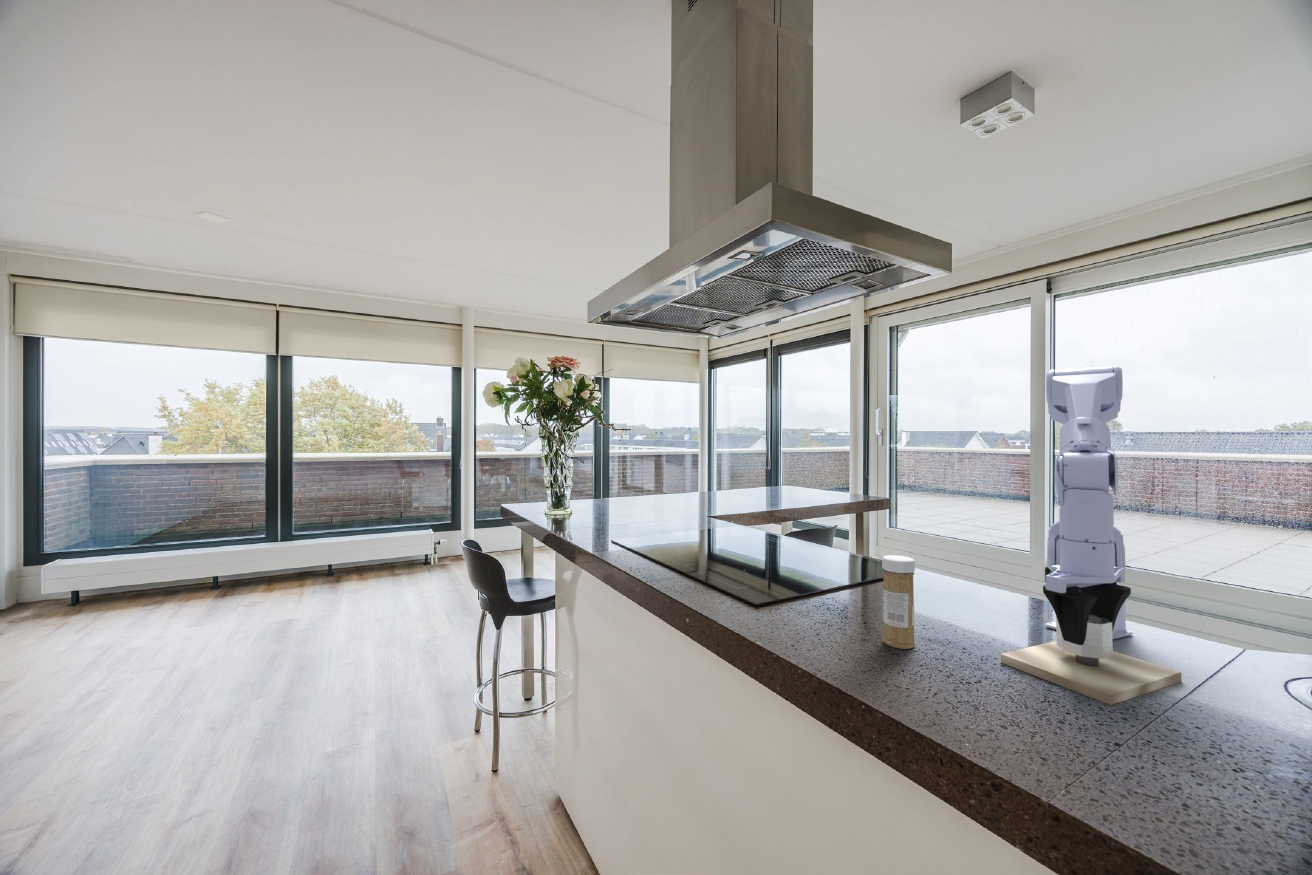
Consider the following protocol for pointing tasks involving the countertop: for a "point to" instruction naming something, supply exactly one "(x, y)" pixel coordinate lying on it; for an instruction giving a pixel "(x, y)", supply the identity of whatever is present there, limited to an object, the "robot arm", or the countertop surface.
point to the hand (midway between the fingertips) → (1087, 639)
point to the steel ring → (1091, 639)
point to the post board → (1092, 672)
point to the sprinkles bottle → (898, 601)
